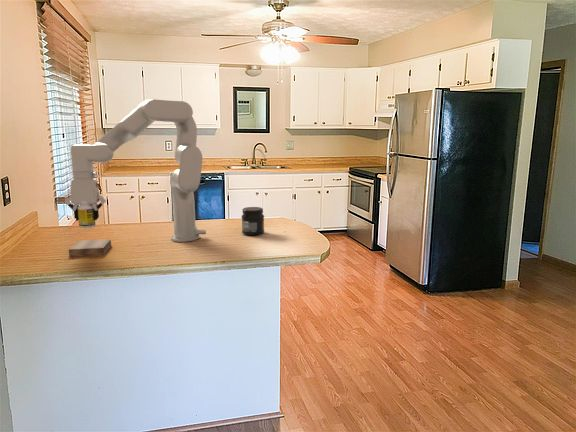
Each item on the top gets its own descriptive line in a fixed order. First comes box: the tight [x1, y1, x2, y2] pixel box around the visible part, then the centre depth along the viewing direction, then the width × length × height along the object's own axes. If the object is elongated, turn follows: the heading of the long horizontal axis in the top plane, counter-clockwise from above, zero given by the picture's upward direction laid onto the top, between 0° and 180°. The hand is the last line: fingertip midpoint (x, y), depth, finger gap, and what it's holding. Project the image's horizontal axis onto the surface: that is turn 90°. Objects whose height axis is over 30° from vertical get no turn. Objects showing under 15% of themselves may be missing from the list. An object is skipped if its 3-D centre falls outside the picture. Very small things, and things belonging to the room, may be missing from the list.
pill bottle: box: [78, 201, 96, 229], centre depth 182 cm, size 6×6×11 cm
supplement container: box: [241, 206, 265, 237], centre depth 212 cm, size 10×10×12 cm
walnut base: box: [68, 239, 112, 258], centre depth 185 cm, size 13×13×3 cm
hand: (86, 219), depth 183 cm, fingers closed on pill bottle, 6 cm apart
